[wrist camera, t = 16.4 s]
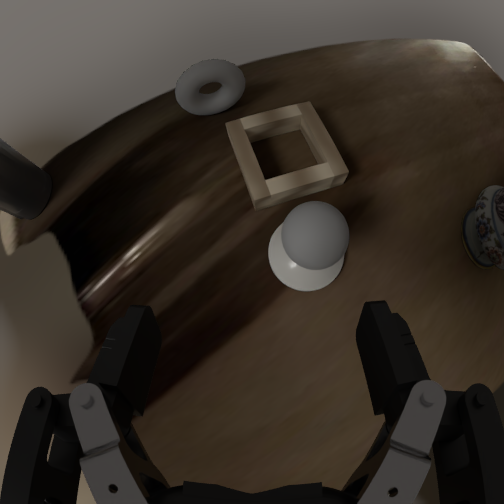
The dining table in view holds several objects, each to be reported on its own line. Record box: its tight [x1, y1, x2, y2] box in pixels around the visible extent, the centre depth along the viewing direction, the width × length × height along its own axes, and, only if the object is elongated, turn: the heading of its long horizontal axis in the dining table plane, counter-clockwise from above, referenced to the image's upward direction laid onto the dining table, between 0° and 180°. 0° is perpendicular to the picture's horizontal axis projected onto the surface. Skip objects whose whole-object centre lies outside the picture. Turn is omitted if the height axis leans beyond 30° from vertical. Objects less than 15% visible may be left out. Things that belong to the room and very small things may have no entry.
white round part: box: [269, 223, 344, 291], centre depth 33 cm, size 9×9×1 cm
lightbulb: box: [281, 201, 349, 270], centre depth 27 cm, size 6×6×11 cm
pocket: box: [225, 101, 349, 211], centre depth 34 cm, size 12×12×4 cm
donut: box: [175, 59, 245, 115], centre depth 34 cm, size 10×3×10 cm, turn 107°
